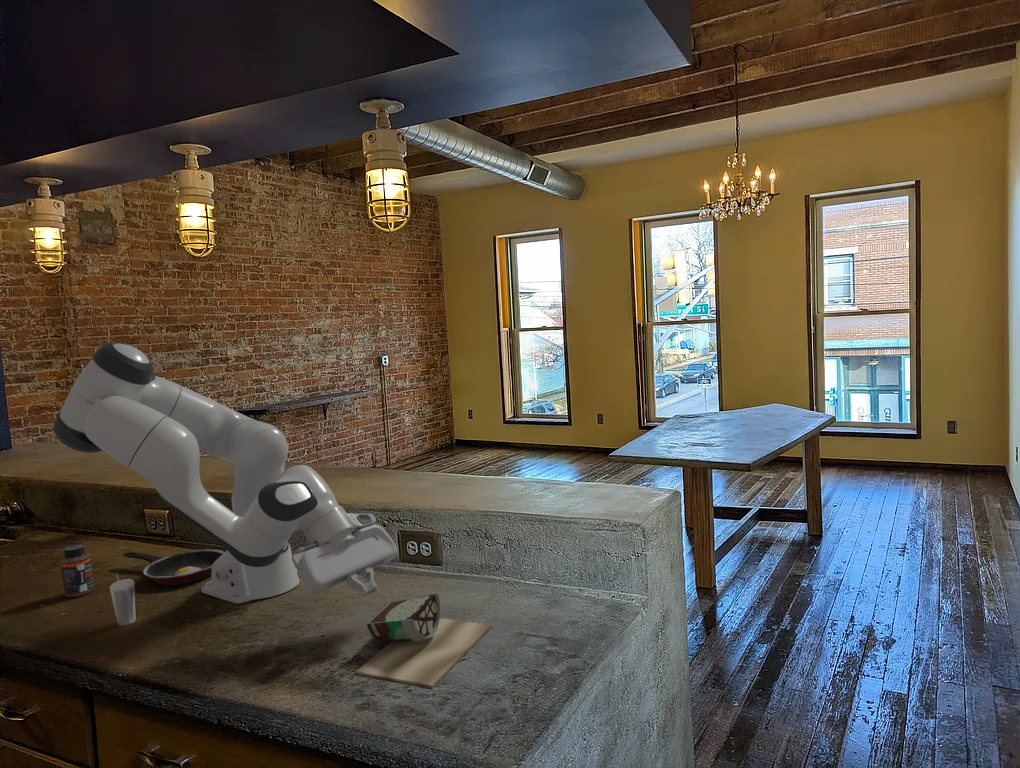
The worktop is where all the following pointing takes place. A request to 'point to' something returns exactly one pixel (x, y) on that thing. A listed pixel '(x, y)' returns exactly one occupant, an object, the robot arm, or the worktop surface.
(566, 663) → the worktop surface
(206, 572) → the frying pan
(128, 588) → the milkshake
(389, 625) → the food container
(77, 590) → the supplement bottle
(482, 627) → the oak board
